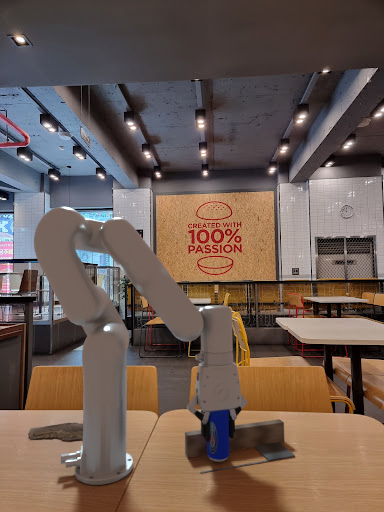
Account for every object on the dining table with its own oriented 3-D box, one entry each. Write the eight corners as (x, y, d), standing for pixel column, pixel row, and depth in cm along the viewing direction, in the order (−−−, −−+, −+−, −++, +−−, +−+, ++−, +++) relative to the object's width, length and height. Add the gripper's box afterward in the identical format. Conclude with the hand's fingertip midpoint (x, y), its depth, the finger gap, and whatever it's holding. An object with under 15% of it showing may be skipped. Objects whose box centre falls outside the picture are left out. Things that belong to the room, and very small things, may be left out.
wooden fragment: (16, 440, 89) (16, 436, 89) (39, 423, 100) (39, 420, 100) (110, 444, 87) (110, 440, 87) (123, 427, 97) (123, 423, 98)
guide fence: (196, 474, 72) (195, 449, 73) (185, 453, 81) (185, 432, 82) (300, 456, 80) (300, 434, 80) (280, 438, 88) (279, 419, 89)
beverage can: (203, 454, 79) (202, 388, 80) (222, 449, 81) (221, 385, 82) (213, 464, 74) (212, 395, 75) (233, 459, 76) (232, 391, 78)
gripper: (186, 364, 74) (187, 450, 72) (256, 358, 78) (258, 439, 77) (178, 357, 81) (178, 435, 79) (243, 352, 85) (244, 426, 84)
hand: (218, 436), depth 78 cm, fingers closed on beverage can, 5 cm apart
